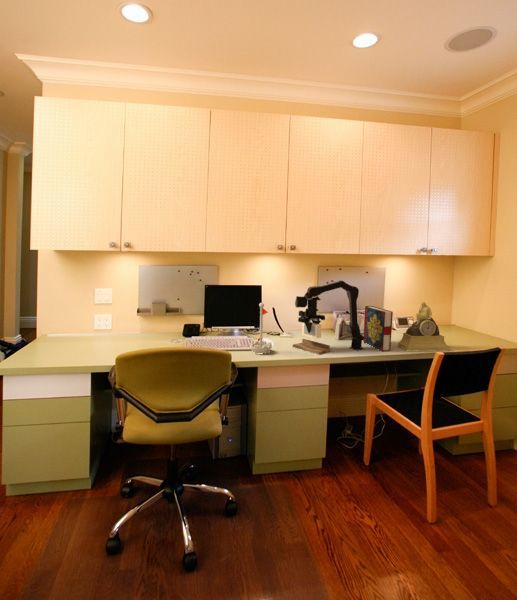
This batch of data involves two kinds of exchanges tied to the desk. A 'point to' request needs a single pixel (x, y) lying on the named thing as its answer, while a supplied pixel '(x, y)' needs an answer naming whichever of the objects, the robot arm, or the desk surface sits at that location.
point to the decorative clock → (423, 333)
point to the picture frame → (312, 330)
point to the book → (378, 327)
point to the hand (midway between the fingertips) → (311, 332)
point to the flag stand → (261, 346)
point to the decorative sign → (341, 329)
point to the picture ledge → (312, 346)
